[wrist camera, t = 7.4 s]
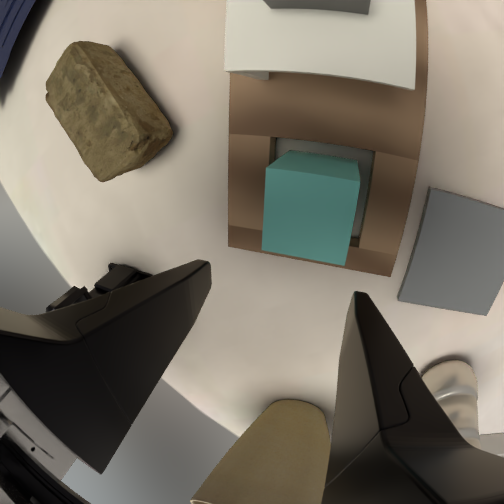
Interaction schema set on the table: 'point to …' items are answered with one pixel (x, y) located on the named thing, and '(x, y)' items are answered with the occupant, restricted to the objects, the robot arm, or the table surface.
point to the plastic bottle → (456, 396)
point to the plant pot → (273, 460)
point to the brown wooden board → (334, 132)
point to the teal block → (310, 206)
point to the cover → (323, 39)
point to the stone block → (105, 110)
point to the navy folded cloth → (11, 25)
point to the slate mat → (456, 255)
